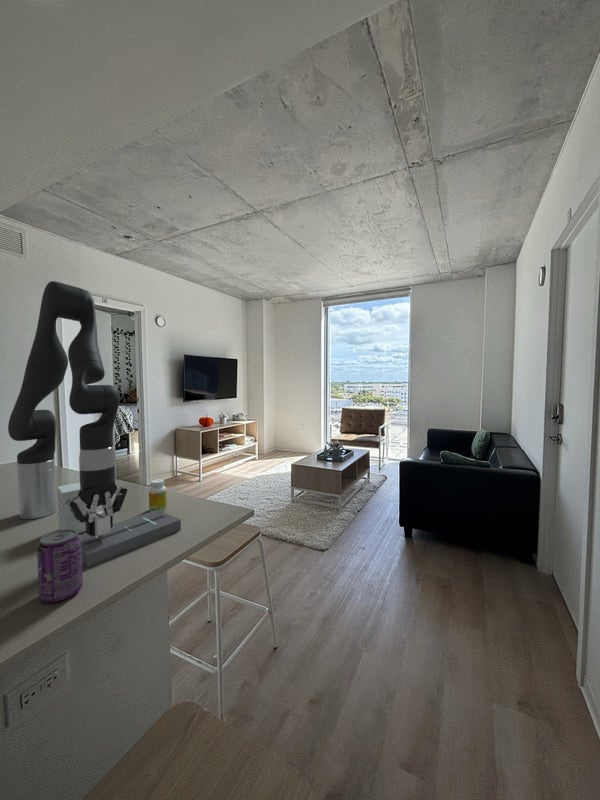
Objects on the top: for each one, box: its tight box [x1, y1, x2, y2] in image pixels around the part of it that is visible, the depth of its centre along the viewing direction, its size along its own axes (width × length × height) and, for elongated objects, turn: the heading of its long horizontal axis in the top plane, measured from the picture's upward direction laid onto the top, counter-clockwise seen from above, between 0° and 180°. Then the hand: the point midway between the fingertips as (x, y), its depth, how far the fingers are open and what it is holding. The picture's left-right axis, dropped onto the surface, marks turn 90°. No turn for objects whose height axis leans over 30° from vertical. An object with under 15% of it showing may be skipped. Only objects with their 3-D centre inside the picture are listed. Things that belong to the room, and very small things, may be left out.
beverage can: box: [36, 529, 84, 603], centre depth 66 cm, size 7×7×12 cm
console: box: [78, 510, 182, 568], centre depth 89 cm, size 12×24×3 cm, turn 143°
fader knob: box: [94, 510, 111, 538], centre depth 83 cm, size 5×3×6 cm, turn 53°
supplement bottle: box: [148, 478, 168, 512], centre depth 109 cm, size 5×5×10 cm
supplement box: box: [56, 482, 86, 534], centre depth 94 cm, size 7×7×13 cm
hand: (99, 532), depth 83 cm, fingers closed on fader knob, 3 cm apart
